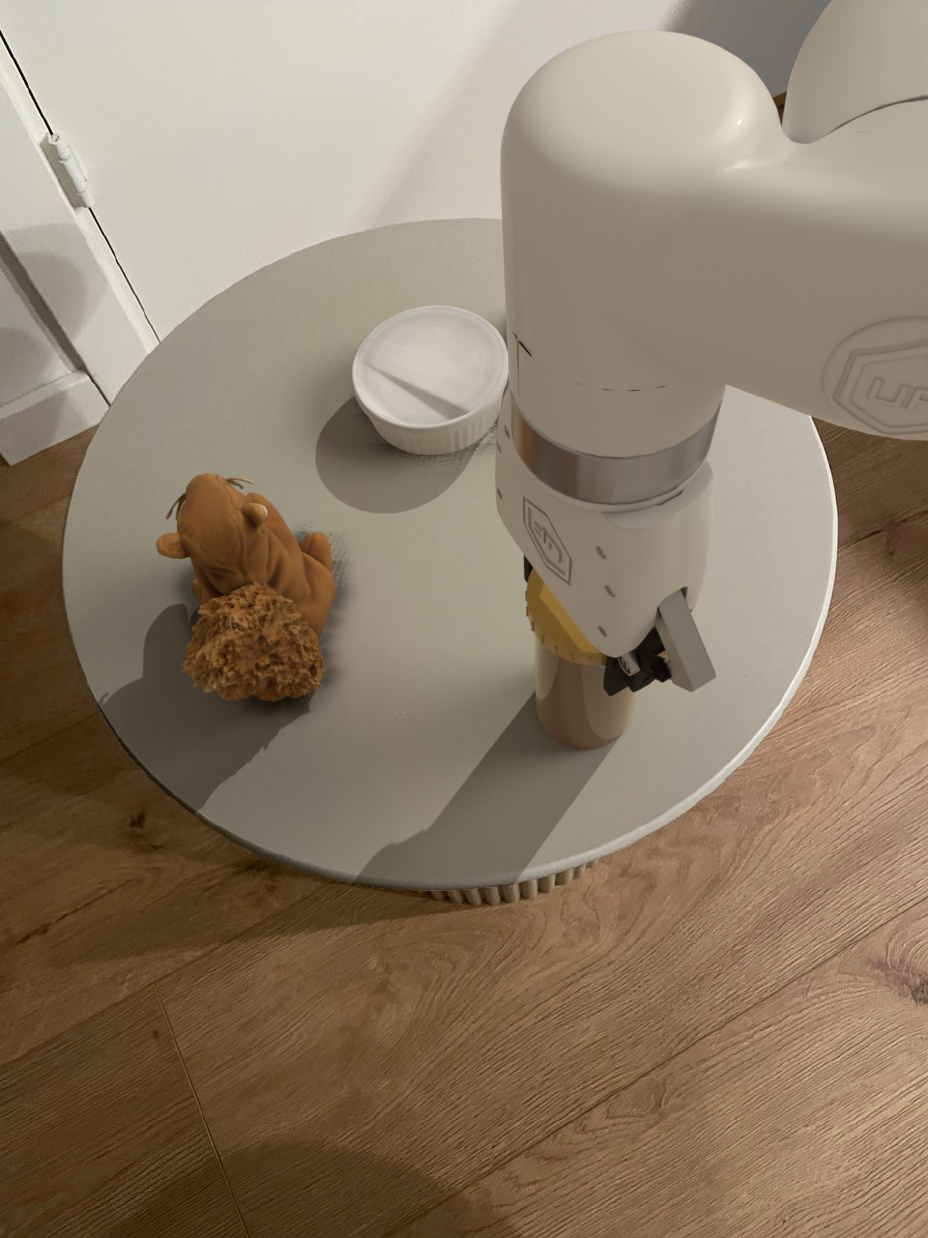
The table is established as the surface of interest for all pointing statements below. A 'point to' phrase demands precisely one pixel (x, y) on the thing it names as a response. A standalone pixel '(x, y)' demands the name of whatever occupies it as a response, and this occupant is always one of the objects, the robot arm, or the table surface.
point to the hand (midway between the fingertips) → (590, 622)
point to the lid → (557, 625)
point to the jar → (578, 702)
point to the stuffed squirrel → (250, 593)
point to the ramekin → (431, 378)
